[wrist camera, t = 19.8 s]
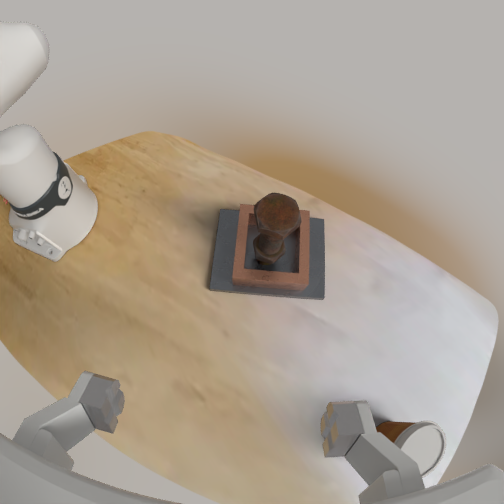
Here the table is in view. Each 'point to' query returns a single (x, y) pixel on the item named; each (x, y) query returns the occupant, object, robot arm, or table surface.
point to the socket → (277, 274)
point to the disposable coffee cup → (417, 442)
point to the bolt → (274, 226)
